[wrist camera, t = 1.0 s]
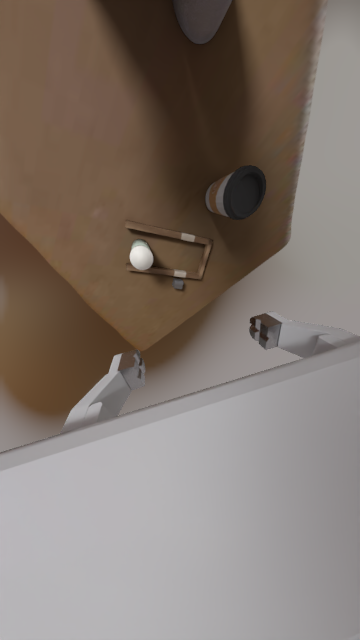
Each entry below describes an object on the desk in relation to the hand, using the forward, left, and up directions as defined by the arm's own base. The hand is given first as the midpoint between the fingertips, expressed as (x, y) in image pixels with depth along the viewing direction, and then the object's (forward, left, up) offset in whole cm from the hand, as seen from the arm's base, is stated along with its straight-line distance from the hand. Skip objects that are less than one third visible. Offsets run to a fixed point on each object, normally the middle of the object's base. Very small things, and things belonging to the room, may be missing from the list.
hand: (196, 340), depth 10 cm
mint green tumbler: (+3, -3, -41) cm, 41 cm away
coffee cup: (-13, +16, -41) cm, 46 cm away
